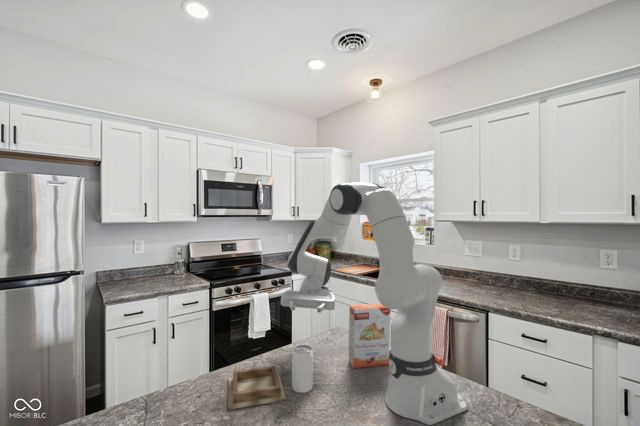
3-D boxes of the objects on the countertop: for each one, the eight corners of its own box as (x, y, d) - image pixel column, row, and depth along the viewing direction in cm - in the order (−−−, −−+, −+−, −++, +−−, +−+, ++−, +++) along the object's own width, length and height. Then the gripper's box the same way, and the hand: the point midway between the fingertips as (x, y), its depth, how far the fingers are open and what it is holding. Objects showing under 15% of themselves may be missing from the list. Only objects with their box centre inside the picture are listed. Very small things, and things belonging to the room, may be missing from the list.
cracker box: (353, 369, 104) (354, 309, 105) (348, 361, 110) (348, 304, 111) (390, 365, 107) (390, 307, 108) (383, 357, 113) (383, 302, 114)
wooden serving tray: (278, 372, 102) (278, 363, 102) (285, 400, 86) (285, 389, 86) (229, 379, 97) (229, 369, 97) (228, 409, 82) (228, 398, 82)
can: (310, 395, 89) (310, 354, 89) (289, 392, 90) (289, 352, 90) (314, 383, 95) (315, 345, 95) (295, 381, 96) (295, 343, 97)
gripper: (284, 284, 119) (277, 298, 105) (335, 288, 117) (335, 303, 104) (283, 299, 119) (276, 315, 106) (334, 304, 118) (334, 320, 105)
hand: (306, 309), depth 105 cm, fingers open, 8 cm apart
